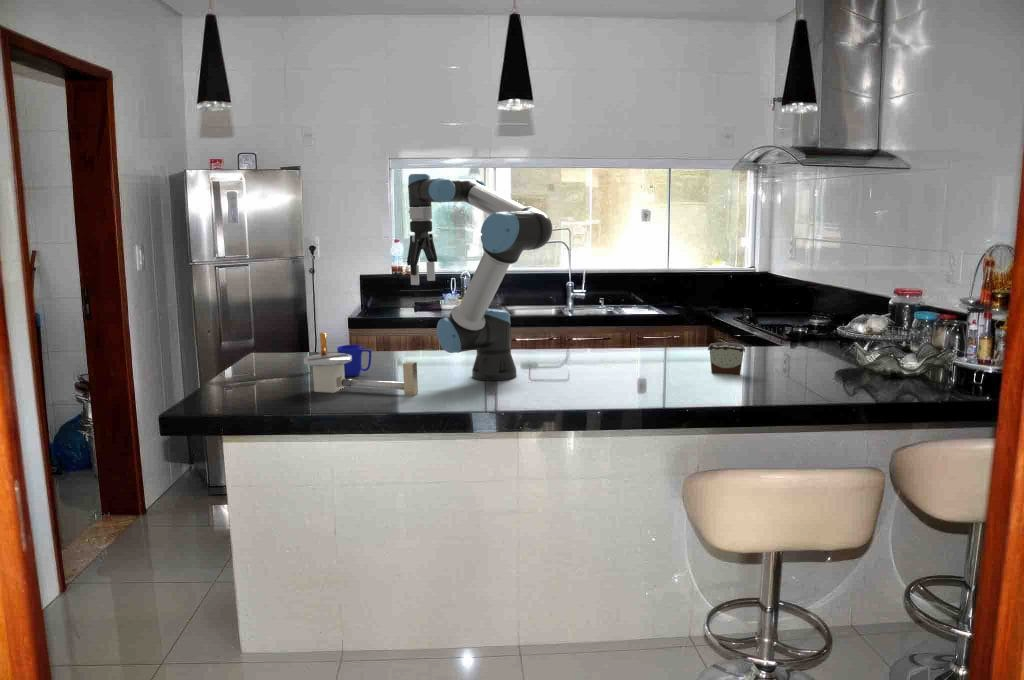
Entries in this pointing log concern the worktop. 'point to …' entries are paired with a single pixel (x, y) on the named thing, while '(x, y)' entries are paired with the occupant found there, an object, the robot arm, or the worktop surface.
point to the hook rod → (408, 385)
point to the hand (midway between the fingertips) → (423, 282)
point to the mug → (354, 359)
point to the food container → (726, 358)
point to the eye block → (328, 378)
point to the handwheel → (327, 356)
